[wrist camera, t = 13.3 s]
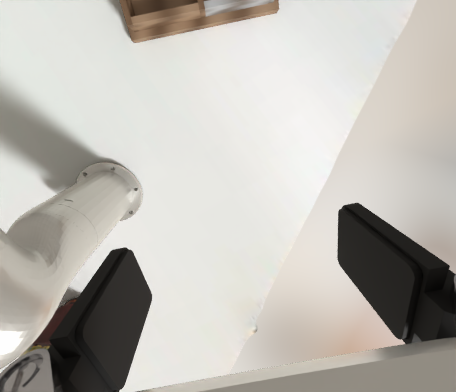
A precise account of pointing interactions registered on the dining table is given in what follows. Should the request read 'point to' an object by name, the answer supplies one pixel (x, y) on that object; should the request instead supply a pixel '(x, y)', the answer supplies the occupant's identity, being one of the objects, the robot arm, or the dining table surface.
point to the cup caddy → (187, 15)
